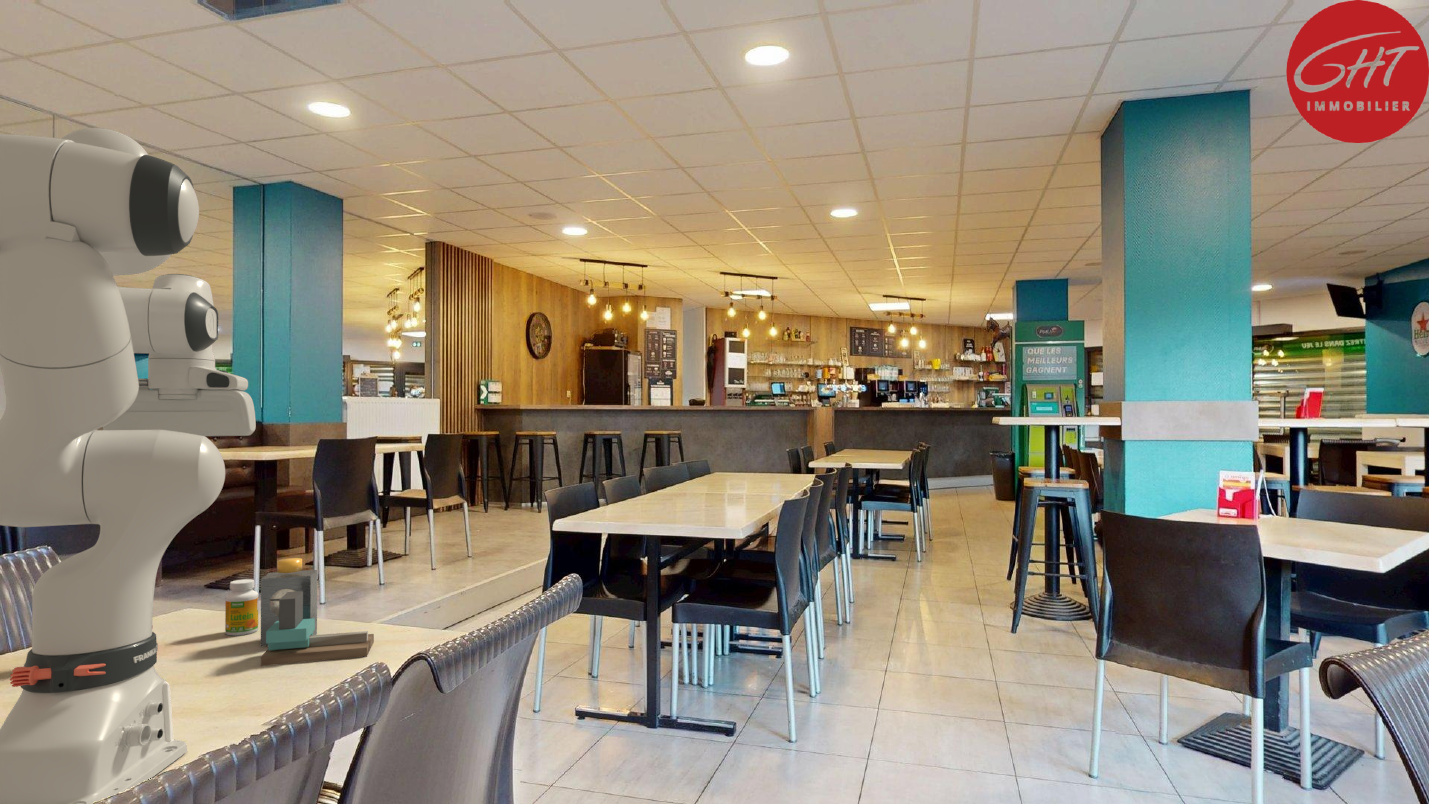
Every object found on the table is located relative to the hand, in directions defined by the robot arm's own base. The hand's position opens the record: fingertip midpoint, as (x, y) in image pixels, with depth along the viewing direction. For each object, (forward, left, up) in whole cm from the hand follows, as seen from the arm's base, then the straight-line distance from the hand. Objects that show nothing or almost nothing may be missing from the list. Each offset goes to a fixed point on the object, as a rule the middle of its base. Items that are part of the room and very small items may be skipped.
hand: (181, 465), depth 124 cm
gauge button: (+17, -12, -21) cm, 29 cm away
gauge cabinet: (+17, -12, -33) cm, 39 cm away
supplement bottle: (+26, -2, -33) cm, 42 cm away
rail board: (+6, -19, -33) cm, 39 cm away
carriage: (+6, -14, -31) cm, 35 cm away
